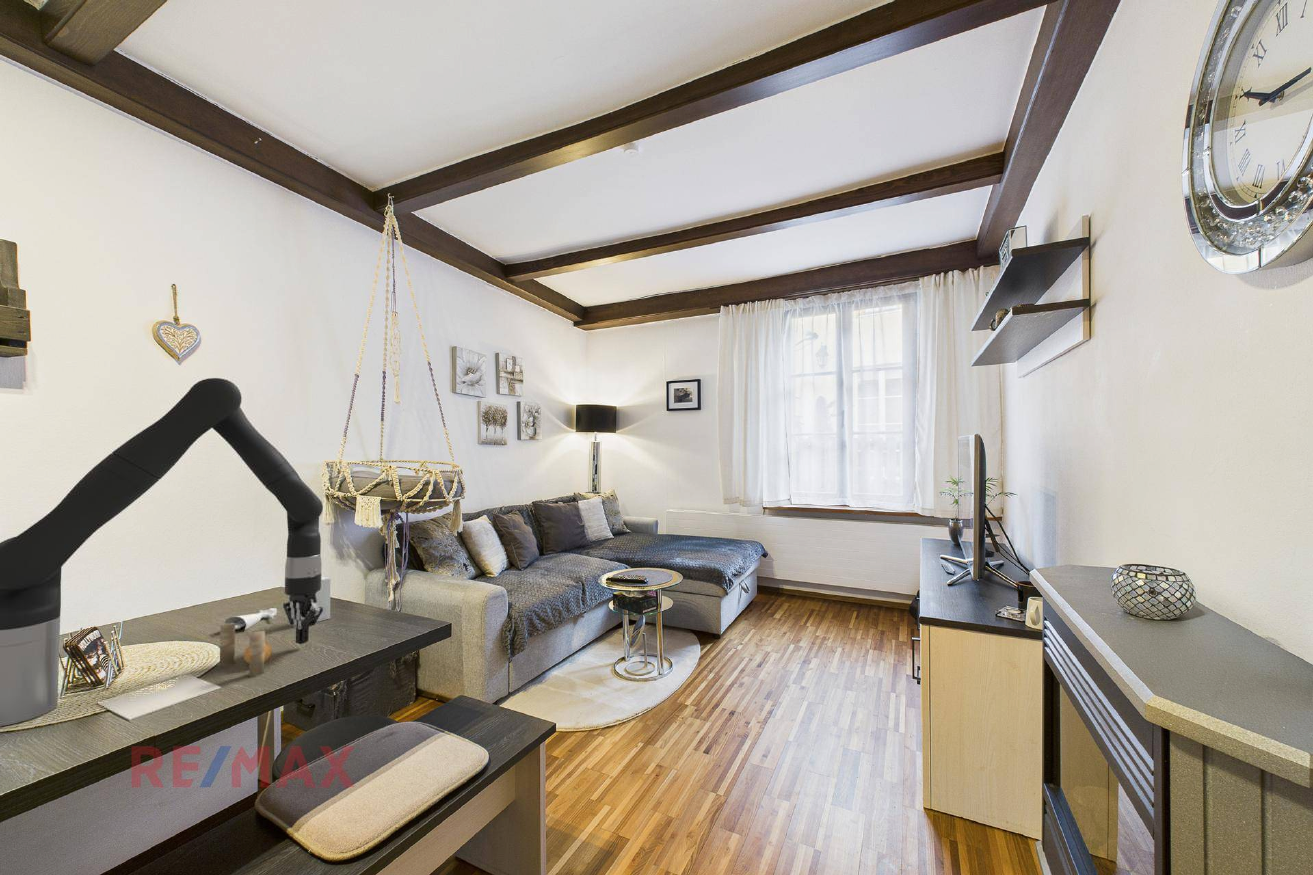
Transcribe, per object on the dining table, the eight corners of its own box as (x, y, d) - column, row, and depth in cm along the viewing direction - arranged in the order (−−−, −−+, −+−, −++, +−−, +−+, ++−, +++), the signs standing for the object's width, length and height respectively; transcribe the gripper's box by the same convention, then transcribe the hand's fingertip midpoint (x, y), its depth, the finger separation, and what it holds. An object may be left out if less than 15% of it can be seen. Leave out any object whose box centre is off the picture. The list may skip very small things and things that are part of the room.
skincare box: (322, 616, 151) (322, 575, 152) (330, 618, 149) (331, 577, 149) (299, 622, 146) (300, 580, 146) (308, 625, 144) (309, 582, 144)
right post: (253, 677, 111) (254, 635, 111) (246, 675, 112) (247, 633, 112) (266, 672, 113) (267, 632, 114) (259, 670, 115) (260, 630, 115)
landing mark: (129, 720, 93) (129, 719, 93) (96, 703, 99) (96, 702, 99) (221, 688, 106) (221, 687, 106) (186, 675, 112) (186, 674, 112)
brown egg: (250, 650, 114) (274, 638, 119) (237, 647, 116) (261, 636, 121) (254, 670, 115) (277, 658, 120) (241, 667, 117) (264, 655, 122)
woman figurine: (205, 619, 136) (255, 603, 154) (204, 636, 136) (254, 618, 154) (250, 618, 137) (295, 603, 154) (248, 635, 136) (294, 618, 154)
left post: (223, 666, 116) (224, 627, 116) (217, 664, 117) (218, 625, 118) (236, 662, 119) (237, 623, 119) (230, 660, 120) (231, 622, 120)
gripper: (271, 573, 127) (269, 643, 127) (303, 579, 121) (302, 652, 121) (303, 567, 134) (301, 633, 133) (335, 572, 128) (333, 641, 128)
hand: (302, 642), depth 127 cm, fingers closed
